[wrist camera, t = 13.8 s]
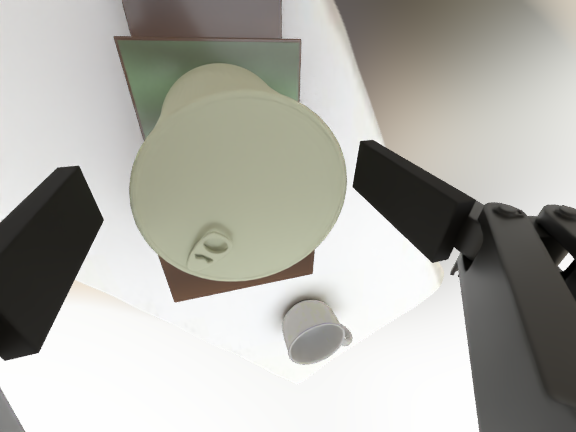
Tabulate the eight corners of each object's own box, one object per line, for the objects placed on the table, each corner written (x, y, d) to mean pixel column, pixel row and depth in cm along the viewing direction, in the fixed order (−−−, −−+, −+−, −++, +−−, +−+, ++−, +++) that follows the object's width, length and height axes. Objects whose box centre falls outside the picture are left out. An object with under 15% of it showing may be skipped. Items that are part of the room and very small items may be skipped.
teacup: (267, 323, 52) (277, 362, 46) (298, 285, 49) (313, 322, 42) (318, 332, 59) (333, 367, 53) (349, 299, 56) (368, 333, 49)
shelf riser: (118, -56, 21) (-1, -199, 8) (268, -42, 23) (349, -134, 11) (182, 206, 34) (174, 302, 21) (273, 195, 37) (312, 274, 24)
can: (134, 139, 19) (72, 240, 9) (212, 28, 17) (233, 14, 7) (235, 203, 24) (262, 310, 15) (305, 124, 22) (389, 190, 12)
